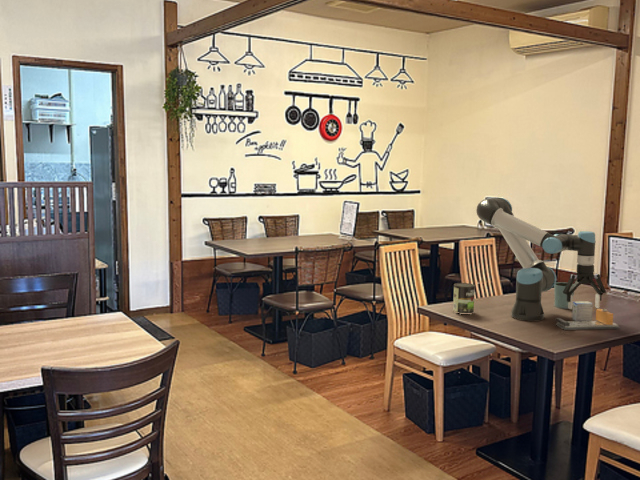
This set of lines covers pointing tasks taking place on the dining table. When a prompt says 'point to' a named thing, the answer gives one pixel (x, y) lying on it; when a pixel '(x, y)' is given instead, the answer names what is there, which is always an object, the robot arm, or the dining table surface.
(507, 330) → the dining table surface
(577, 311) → the medicine box
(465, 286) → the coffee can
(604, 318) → the rail end clamp
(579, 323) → the grey shallow tray
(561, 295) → the green cup
